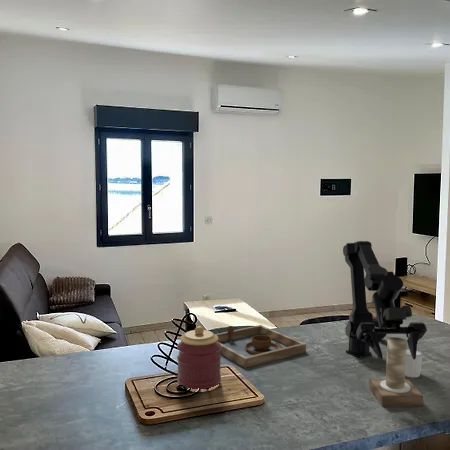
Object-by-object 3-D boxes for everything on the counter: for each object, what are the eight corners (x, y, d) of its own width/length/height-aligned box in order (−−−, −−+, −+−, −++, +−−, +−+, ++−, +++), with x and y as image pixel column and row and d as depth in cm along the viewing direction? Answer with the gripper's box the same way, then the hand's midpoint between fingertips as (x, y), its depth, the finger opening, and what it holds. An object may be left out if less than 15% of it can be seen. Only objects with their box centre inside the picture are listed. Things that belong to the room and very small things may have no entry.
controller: (381, 343, 179) (382, 317, 178) (359, 334, 190) (360, 309, 189) (390, 342, 180) (391, 316, 179) (367, 332, 192) (368, 308, 191)
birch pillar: (384, 387, 133) (386, 341, 132) (387, 380, 138) (388, 336, 136) (403, 390, 131) (405, 344, 130) (405, 383, 136) (407, 338, 134)
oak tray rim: (203, 344, 177) (203, 336, 177) (260, 332, 192) (260, 324, 191) (245, 367, 155) (245, 358, 155) (306, 352, 170) (306, 343, 169)
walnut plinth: (369, 388, 140) (369, 377, 140) (406, 388, 140) (406, 377, 140) (382, 406, 129) (382, 394, 129) (422, 406, 129) (423, 394, 129)
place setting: (244, 360, 164) (245, 343, 163) (224, 341, 182) (224, 326, 182) (290, 353, 170) (290, 337, 169) (266, 336, 188) (266, 321, 188)
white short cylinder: (424, 379, 147) (425, 357, 146) (400, 377, 148) (401, 355, 148) (419, 370, 154) (420, 349, 153) (397, 368, 155) (398, 347, 154)
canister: (226, 378, 147) (227, 322, 145) (211, 396, 134) (212, 335, 133) (187, 373, 151) (187, 318, 149) (169, 389, 139) (169, 330, 137)
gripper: (360, 294, 136) (372, 346, 126) (425, 294, 136) (442, 345, 126) (351, 314, 144) (361, 363, 134) (413, 314, 145) (427, 363, 135)
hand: (398, 359), depth 132 cm, fingers open, 9 cm apart
